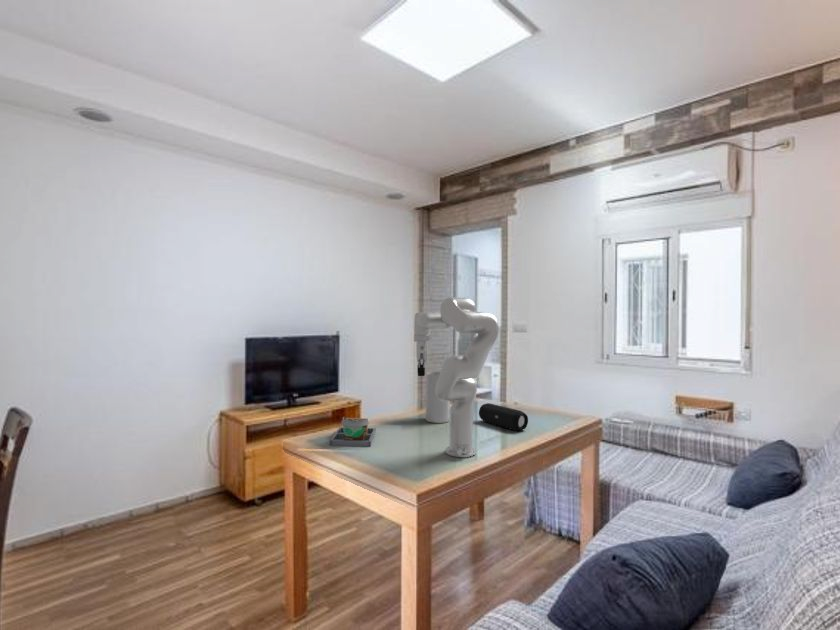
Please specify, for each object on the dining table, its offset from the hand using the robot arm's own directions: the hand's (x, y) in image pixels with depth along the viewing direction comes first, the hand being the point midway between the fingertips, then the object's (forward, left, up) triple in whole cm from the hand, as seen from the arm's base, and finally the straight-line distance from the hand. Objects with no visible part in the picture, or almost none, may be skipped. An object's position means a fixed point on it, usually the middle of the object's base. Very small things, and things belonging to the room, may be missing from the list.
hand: (420, 374), depth 215 cm
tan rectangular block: (-11, +29, -27) cm, 41 cm away
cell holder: (-16, +29, -28) cm, 43 cm away
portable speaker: (+17, -42, -28) cm, 54 cm away
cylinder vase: (+24, -9, -28) cm, 38 cm away
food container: (-23, +29, -27) cm, 45 cm away
